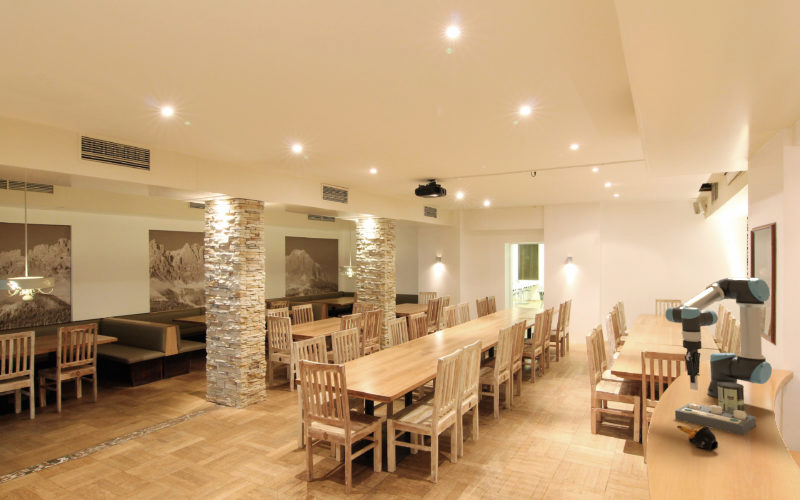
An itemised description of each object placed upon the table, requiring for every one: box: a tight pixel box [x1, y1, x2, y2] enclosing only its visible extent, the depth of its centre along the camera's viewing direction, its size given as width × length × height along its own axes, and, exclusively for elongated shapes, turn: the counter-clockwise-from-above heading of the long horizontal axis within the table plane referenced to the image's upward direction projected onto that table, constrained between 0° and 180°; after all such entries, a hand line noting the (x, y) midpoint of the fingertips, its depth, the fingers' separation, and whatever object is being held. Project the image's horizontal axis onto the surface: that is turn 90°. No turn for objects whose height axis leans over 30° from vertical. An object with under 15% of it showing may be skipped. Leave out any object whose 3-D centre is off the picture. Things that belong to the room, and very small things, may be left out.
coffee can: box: [717, 382, 745, 412], centre depth 215 cm, size 10×10×14 cm
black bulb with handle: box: [676, 425, 719, 451], centre depth 181 cm, size 9×11×18 cm
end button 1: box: [688, 403, 701, 410], centre depth 213 cm, size 4×4×5 cm
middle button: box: [709, 404, 722, 415], centre depth 206 cm, size 4×4×5 cm
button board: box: [674, 402, 757, 436], centre depth 204 cm, size 18×26×4 cm
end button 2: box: [734, 410, 747, 420], centre depth 199 cm, size 4×4×5 cm
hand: (694, 389), depth 213 cm, fingers closed
